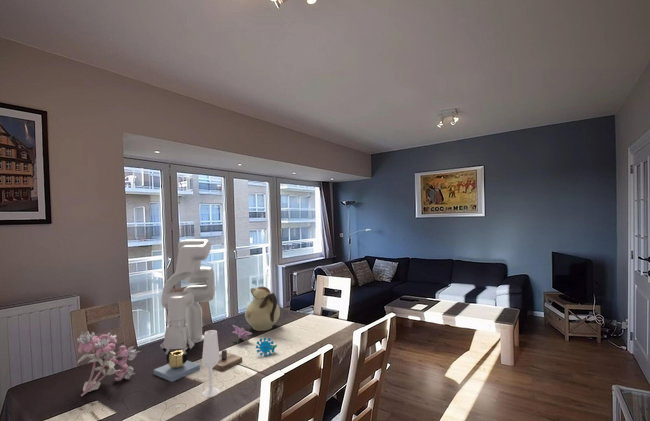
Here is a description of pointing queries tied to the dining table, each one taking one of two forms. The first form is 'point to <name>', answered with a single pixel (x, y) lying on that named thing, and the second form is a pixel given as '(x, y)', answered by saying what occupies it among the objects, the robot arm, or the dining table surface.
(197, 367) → the hub plate
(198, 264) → the robot arm
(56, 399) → the dining table surface
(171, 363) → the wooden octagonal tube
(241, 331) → the lily
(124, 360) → the flower
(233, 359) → the rod stand
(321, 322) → the dining table surface
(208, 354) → the champagne flute
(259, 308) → the pitcher
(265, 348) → the gear
